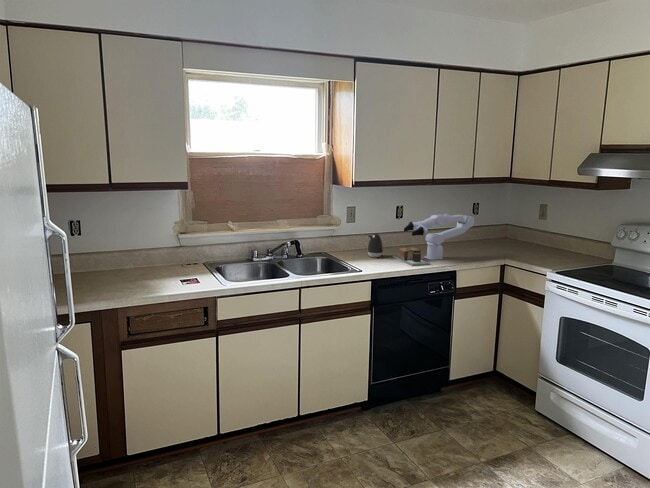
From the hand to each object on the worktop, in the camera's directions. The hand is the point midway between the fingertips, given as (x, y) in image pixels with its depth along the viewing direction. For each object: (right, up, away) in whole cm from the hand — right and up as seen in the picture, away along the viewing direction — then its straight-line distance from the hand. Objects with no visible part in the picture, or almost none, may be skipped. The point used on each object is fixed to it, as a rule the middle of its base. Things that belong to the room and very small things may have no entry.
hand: (408, 232), depth 303 cm
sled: (+3, -17, +4) cm, 17 cm away
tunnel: (+2, -17, +8) cm, 19 cm away
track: (+2, -18, +5) cm, 19 cm away
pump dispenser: (-19, -16, +15) cm, 29 cm away
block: (+2, -15, +7) cm, 17 cm away
